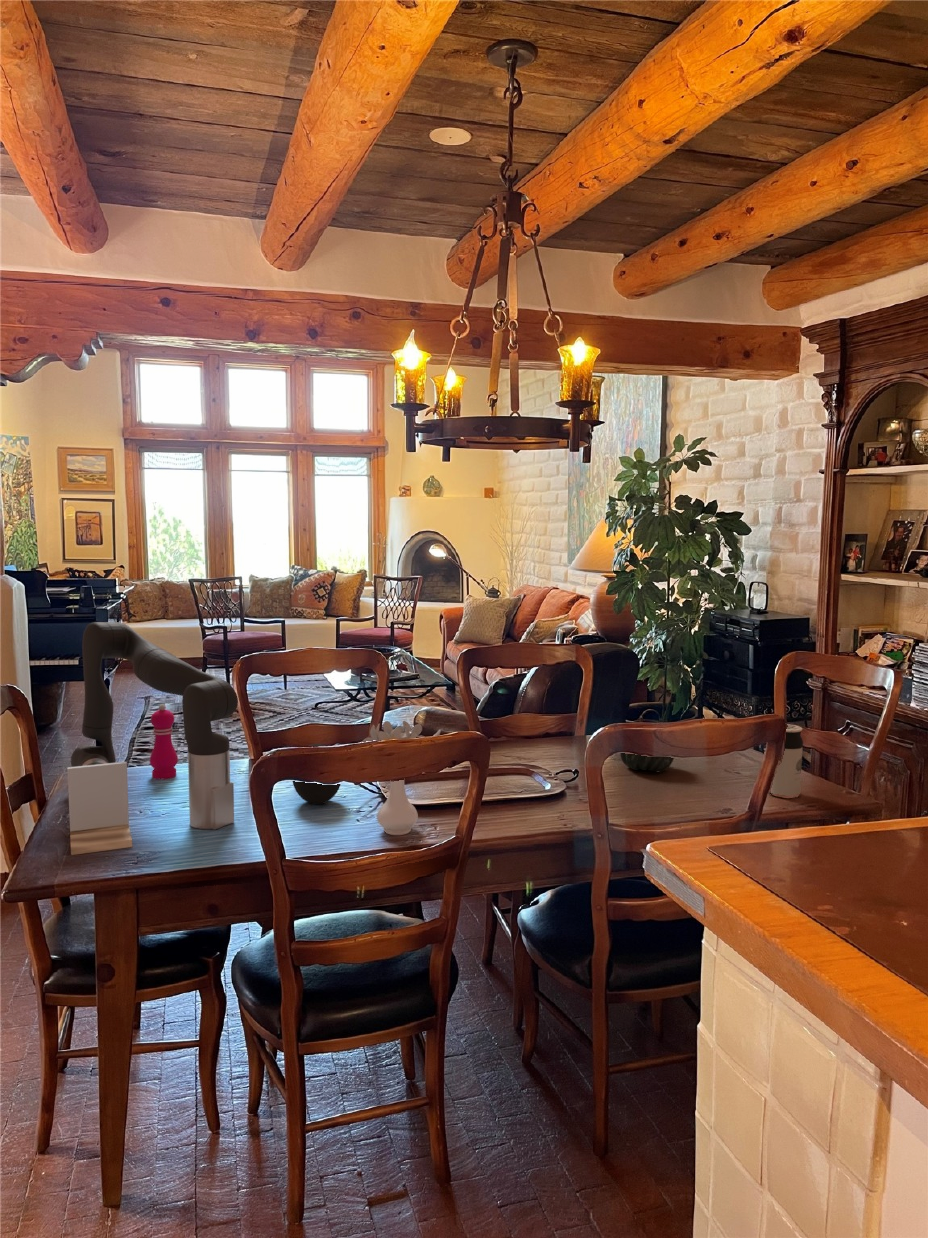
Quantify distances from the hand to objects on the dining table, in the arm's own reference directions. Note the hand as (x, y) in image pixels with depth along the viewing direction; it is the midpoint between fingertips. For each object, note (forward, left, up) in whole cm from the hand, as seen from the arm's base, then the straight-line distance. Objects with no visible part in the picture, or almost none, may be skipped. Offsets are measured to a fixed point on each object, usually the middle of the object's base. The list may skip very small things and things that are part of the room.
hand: (98, 798), depth 196 cm
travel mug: (-127, -110, -8) cm, 169 cm away
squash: (-89, -114, -8) cm, 145 cm away
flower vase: (-56, -36, -8) cm, 68 cm away
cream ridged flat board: (-1, +1, -8) cm, 8 cm away
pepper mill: (+22, -37, -8) cm, 44 cm away
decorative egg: (-28, -41, -8) cm, 51 cm away
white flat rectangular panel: (-3, +2, -6) cm, 7 cm away
